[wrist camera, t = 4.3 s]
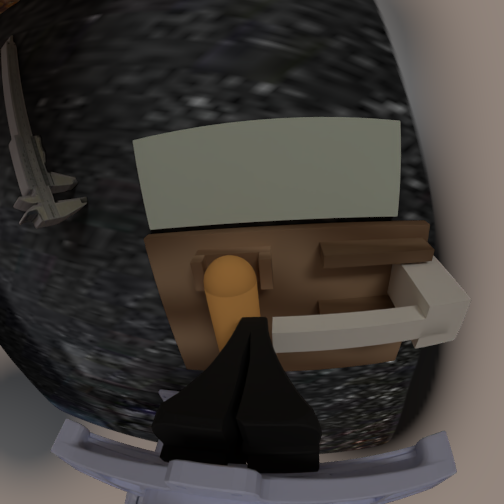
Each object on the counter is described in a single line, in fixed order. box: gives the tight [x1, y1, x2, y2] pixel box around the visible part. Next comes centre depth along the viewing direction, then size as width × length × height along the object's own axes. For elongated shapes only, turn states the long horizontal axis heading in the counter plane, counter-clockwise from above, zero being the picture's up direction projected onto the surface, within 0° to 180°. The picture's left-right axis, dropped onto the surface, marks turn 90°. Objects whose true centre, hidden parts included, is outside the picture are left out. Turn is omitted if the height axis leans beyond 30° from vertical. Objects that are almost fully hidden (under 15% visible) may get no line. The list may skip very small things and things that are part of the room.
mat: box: [133, 117, 401, 230], centre depth 15 cm, size 6×16×1 cm, turn 95°
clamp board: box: [144, 220, 434, 371], centre depth 19 cm, size 13×19×3 cm
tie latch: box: [272, 256, 471, 353], centre depth 15 cm, size 3×11×6 cm, turn 95°
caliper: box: [1, 35, 87, 228], centre depth 11 cm, size 20×1×6 cm, turn 29°
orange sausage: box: [203, 255, 260, 352], centre depth 17 cm, size 12×3×3 cm, turn 5°
